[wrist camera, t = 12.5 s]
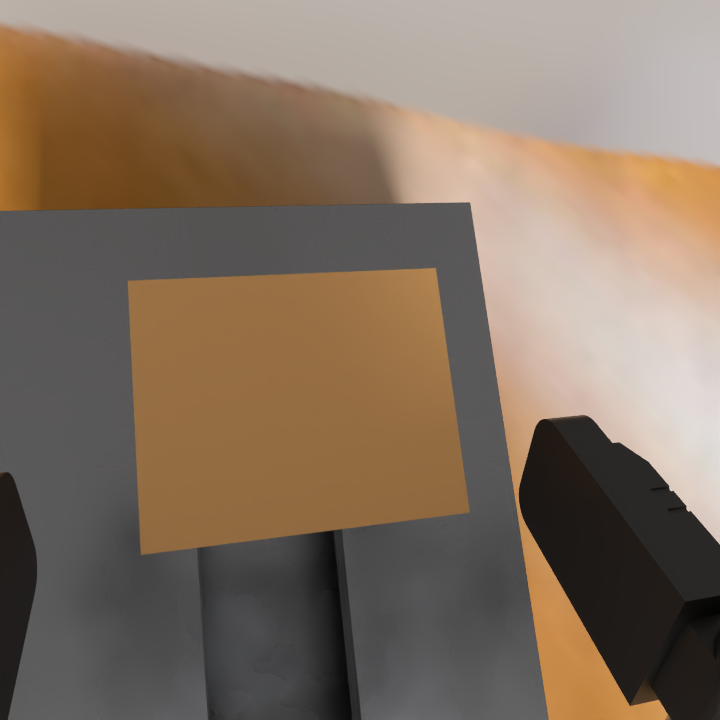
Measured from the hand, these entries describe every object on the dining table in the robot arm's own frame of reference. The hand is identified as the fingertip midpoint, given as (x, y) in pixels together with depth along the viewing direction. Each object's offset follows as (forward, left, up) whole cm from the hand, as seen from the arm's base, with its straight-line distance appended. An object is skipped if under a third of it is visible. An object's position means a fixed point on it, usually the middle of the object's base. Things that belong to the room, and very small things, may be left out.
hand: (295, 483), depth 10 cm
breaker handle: (-1, -1, -12) cm, 12 cm away
